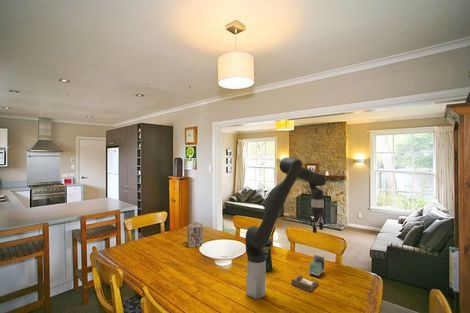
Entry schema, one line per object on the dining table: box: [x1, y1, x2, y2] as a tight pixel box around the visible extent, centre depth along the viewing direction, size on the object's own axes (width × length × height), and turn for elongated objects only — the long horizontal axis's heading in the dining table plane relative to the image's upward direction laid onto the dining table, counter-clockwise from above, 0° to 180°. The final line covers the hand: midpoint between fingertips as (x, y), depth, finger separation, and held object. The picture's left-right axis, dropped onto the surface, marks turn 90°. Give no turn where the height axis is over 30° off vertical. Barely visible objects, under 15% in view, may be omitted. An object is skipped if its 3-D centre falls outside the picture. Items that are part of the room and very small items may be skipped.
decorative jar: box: [186, 221, 205, 248], centre depth 187 cm, size 12×12×18 cm
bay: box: [291, 274, 319, 293], centre depth 127 cm, size 11×10×3 cm
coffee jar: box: [262, 238, 273, 272], centre depth 146 cm, size 10×8×19 cm
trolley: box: [308, 254, 325, 278], centre depth 139 cm, size 9×6×9 cm, turn 139°
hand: (318, 231), depth 150 cm, fingers open, 8 cm apart
